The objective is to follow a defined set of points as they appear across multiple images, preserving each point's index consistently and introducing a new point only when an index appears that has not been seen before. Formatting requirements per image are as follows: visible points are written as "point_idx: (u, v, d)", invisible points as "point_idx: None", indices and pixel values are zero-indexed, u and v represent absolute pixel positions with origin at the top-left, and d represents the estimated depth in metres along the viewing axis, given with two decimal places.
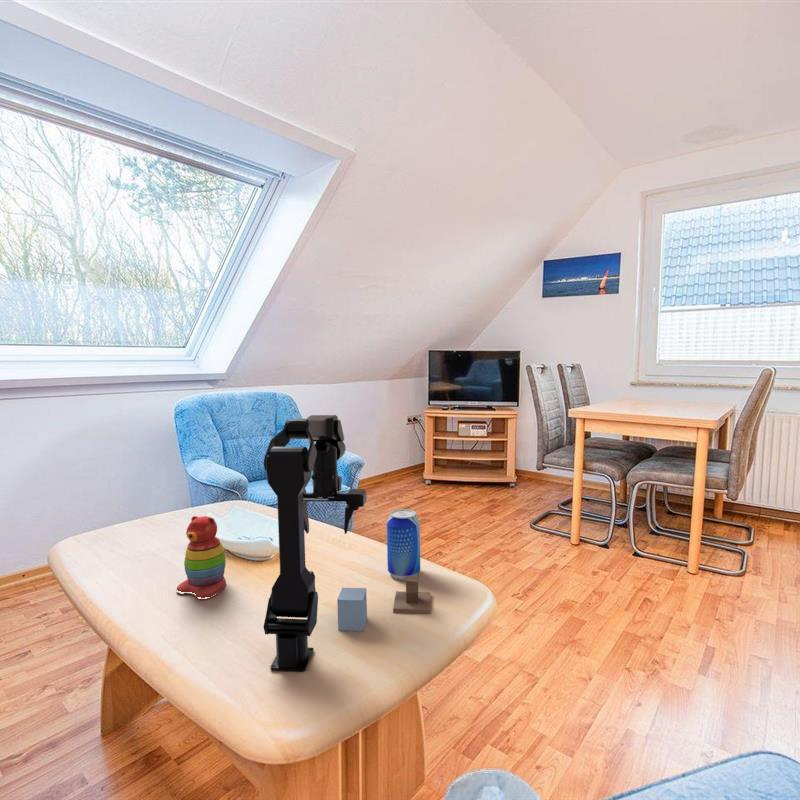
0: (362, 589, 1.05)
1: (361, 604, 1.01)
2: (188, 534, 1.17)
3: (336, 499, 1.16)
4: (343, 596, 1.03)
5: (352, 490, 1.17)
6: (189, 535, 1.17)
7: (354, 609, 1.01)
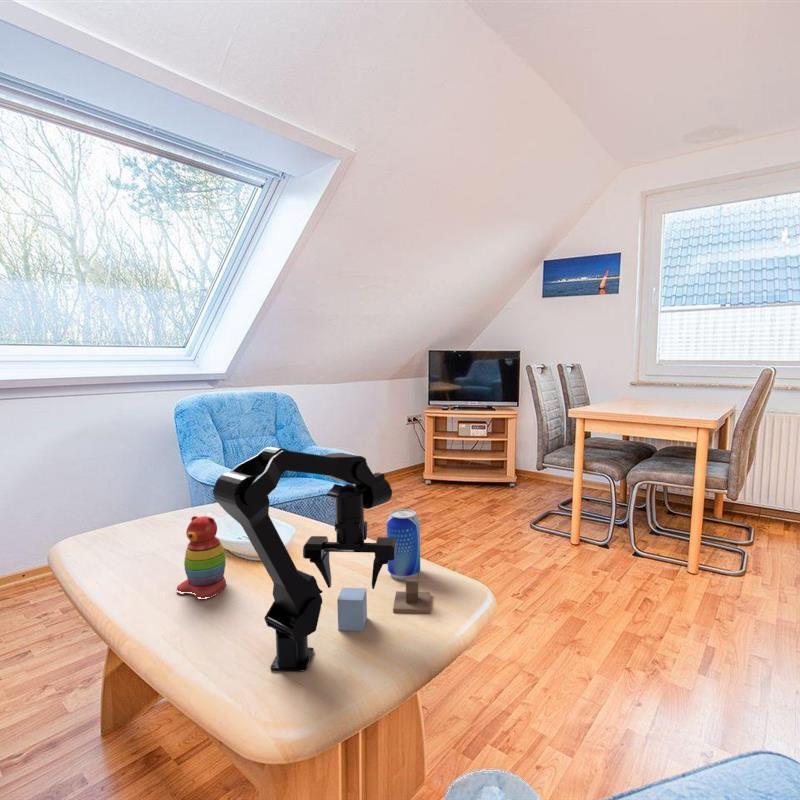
0: (362, 589, 1.05)
1: (361, 604, 1.01)
2: (188, 534, 1.17)
3: (362, 549, 1.02)
4: (343, 596, 1.03)
5: (381, 539, 1.03)
6: (189, 535, 1.17)
7: (354, 609, 1.01)
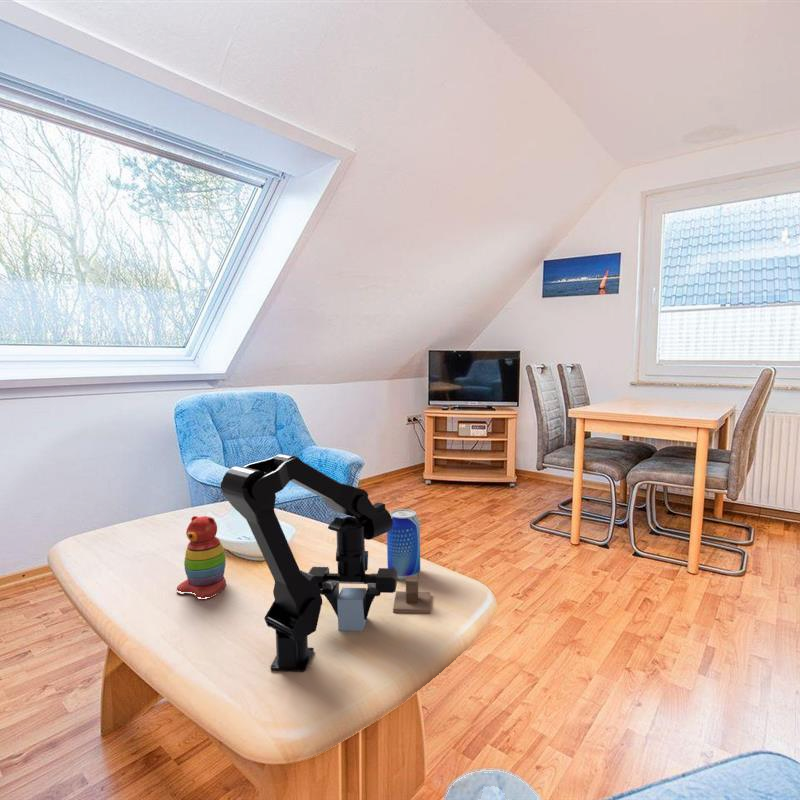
0: (362, 589, 1.05)
1: (361, 604, 1.01)
2: (188, 534, 1.17)
3: None
4: (343, 596, 1.03)
5: (381, 570, 1.04)
6: (189, 535, 1.17)
7: (354, 609, 1.01)
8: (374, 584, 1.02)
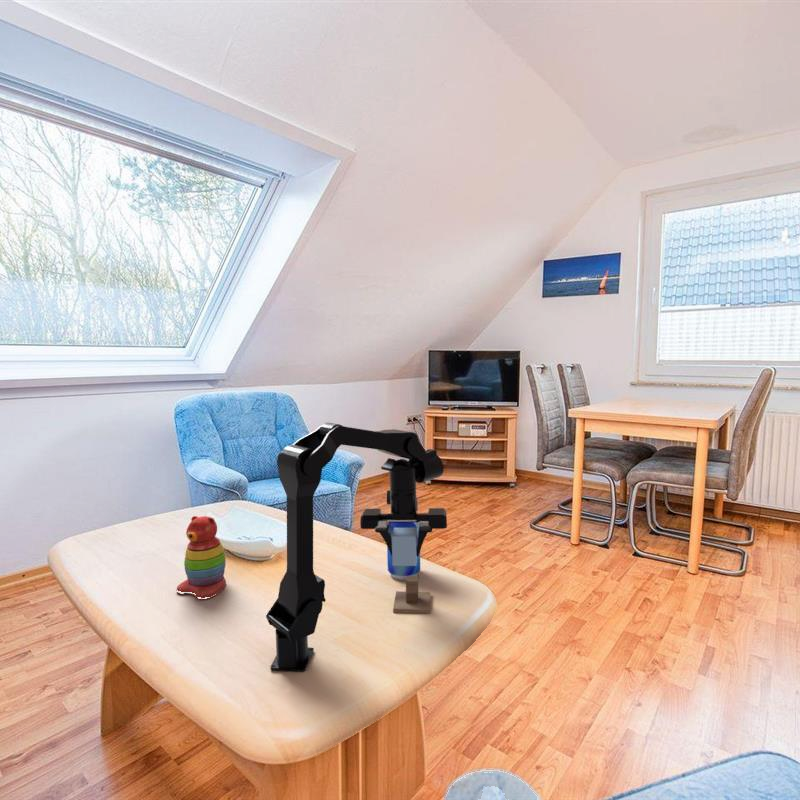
0: (413, 528, 1.12)
1: (414, 540, 1.07)
2: (188, 534, 1.17)
3: None
4: (396, 534, 1.09)
5: (432, 510, 1.10)
6: (189, 535, 1.17)
7: (407, 545, 1.07)
8: (426, 522, 1.08)
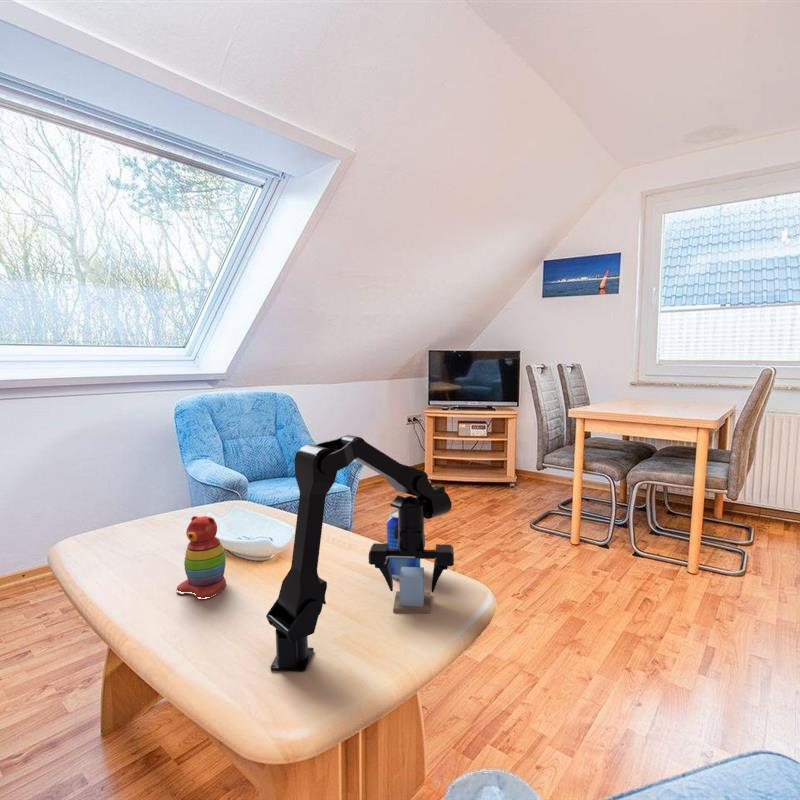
0: (420, 568, 1.13)
1: (421, 581, 1.09)
2: (188, 534, 1.17)
3: (422, 556, 1.10)
4: (404, 574, 1.10)
5: (439, 546, 1.11)
6: (189, 535, 1.17)
7: (415, 586, 1.09)
8: None
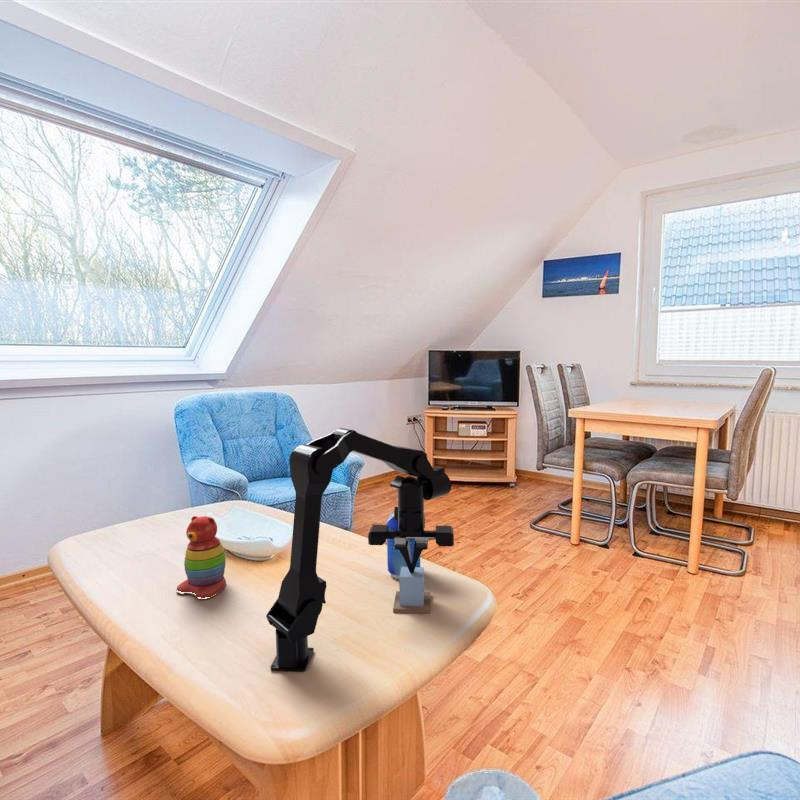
0: (420, 568, 1.13)
1: (421, 581, 1.09)
2: (188, 534, 1.17)
3: None
4: (404, 574, 1.10)
5: (439, 527, 1.11)
6: (189, 535, 1.17)
7: (415, 586, 1.09)
8: (421, 539, 1.10)
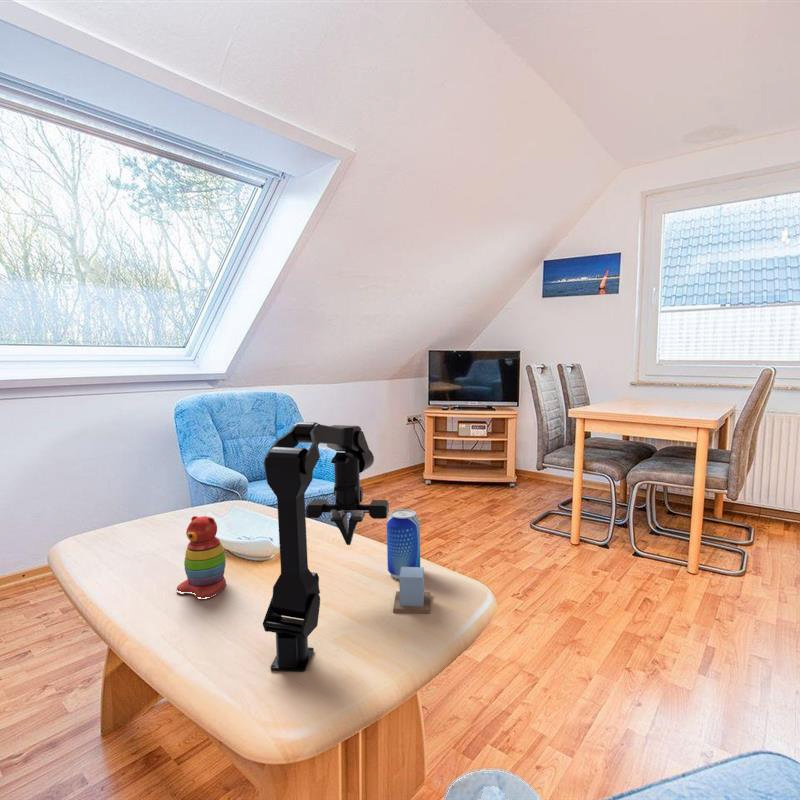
0: (420, 568, 1.13)
1: (421, 581, 1.09)
2: (188, 534, 1.17)
3: None
4: (404, 574, 1.10)
5: (374, 501, 1.16)
6: (189, 535, 1.17)
7: (415, 586, 1.09)
8: (357, 512, 1.14)
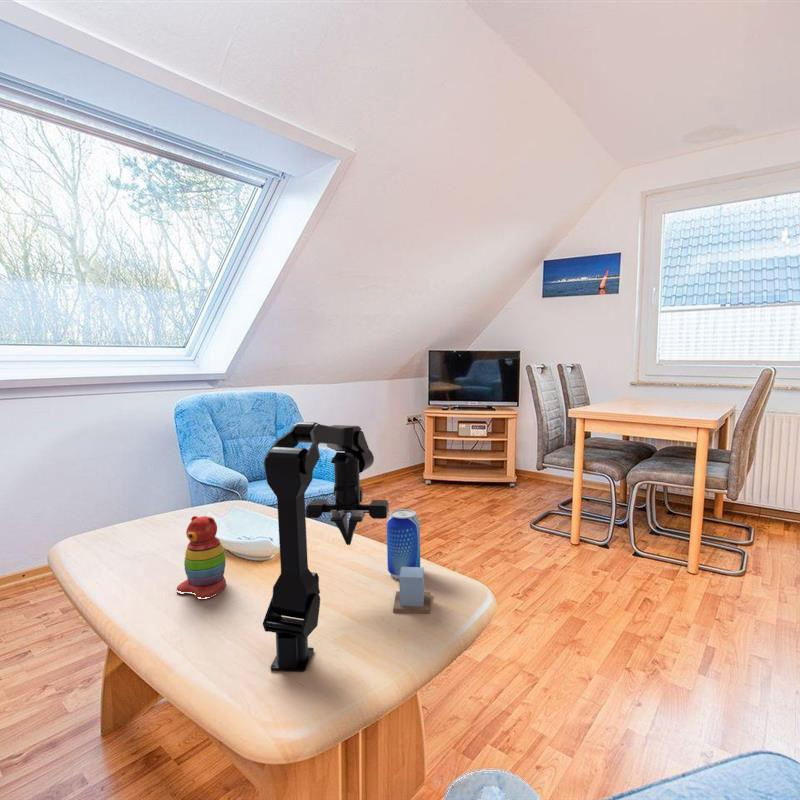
0: (420, 568, 1.13)
1: (421, 581, 1.09)
2: (188, 534, 1.17)
3: None
4: (404, 574, 1.10)
5: (374, 501, 1.16)
6: (189, 535, 1.17)
7: (415, 586, 1.09)
8: (357, 512, 1.14)
